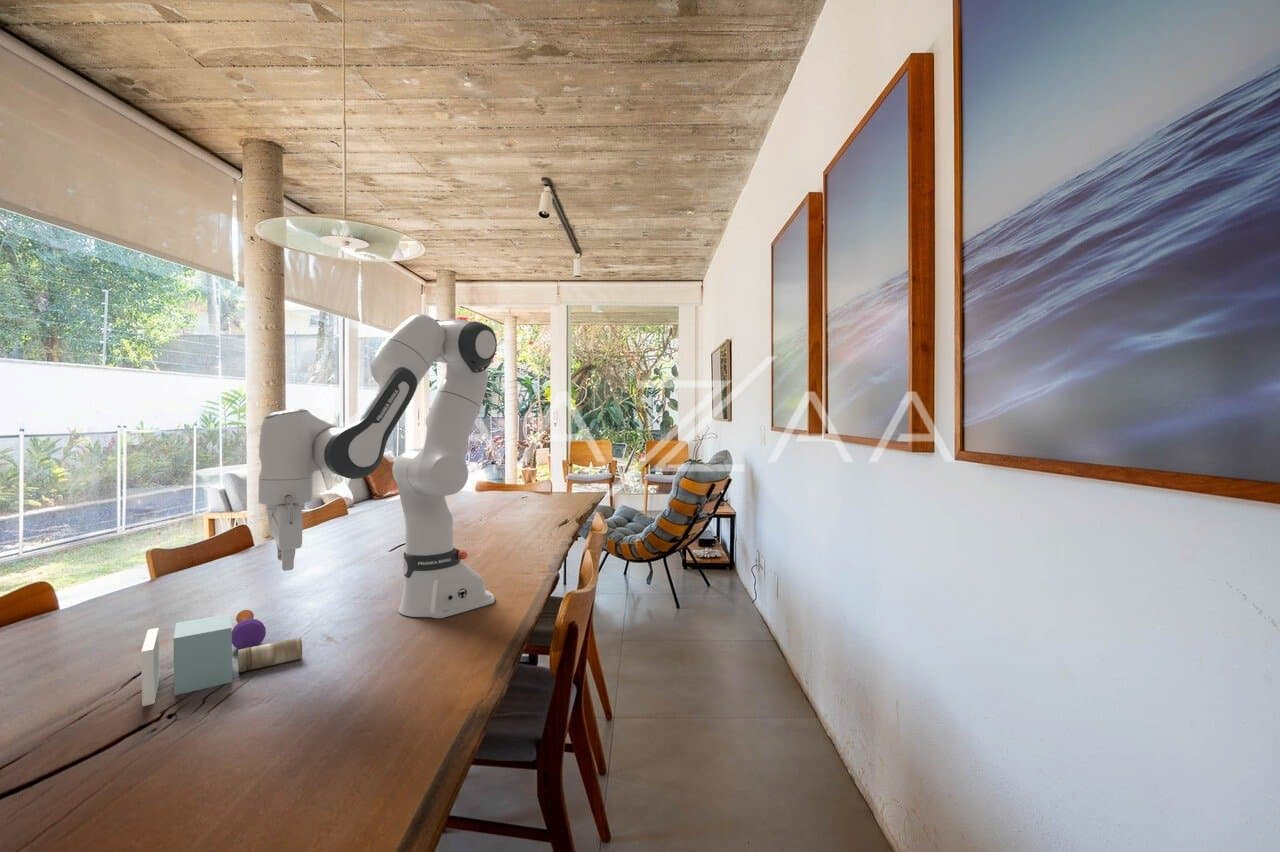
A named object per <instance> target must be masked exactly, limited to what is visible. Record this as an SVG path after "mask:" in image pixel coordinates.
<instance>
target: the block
mask: <svg viewBox="0 0 1280 852" xmlns="http://www.w3.org/2000/svg"><path fill="white" fill-rule="evenodd" d="M231 616H232V615H231V613H225V614H220V615H215V616H209V617H203V618H196V619H191V620H186V621H179V622H176V623H175V627H174V633H173V638H172V639H173V677H174V678H173V682H174V683H173V685H174V686H173V687H174V688H173V691H174V695H173V696H178V695H183V694H188V693H191V692H195V691H200V690H204V689H209V688H213V687H217V686H221V685H227V684H231V683H233V644H232V630H233V628H232V617H231Z"/></svg>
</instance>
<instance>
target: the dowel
mask: <svg viewBox="0 0 1280 852" xmlns="http://www.w3.org/2000/svg"><path fill="white" fill-rule="evenodd" d="M302 641H303V640H302V637H295V638H290V639H285V640H281V641H276V642H275V641H274V642H270V643H265V644H259V645H258V646H254V647H248V648H244V649H237V667H238V668H237V669H238V671H237V672H238V673H242V672H249V671H252V670H255V669H261V668H265V667H269V666H274V665H280V664H283V663H287V662H288V663H289V662H293V661H298V660H302V659H303V642H302Z"/></svg>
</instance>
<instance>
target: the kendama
mask: <svg viewBox="0 0 1280 852" xmlns="http://www.w3.org/2000/svg"><path fill="white" fill-rule="evenodd" d="M254 617H255V616H254V613H253V611H251V610H249V609H244V610H241V611H239V612H238V613H237V614H236V617H235V621H236V622H237V624H236V625H235V626H234V627H233V628H232V647H234V648H236V649H237V650H239V649H244V648H248V647H254V646H259V645H261V644H262V642H264V639H265V637H266V635H267V633H266V631H267V630H266V627H265V625H264V622H262V621H261V620H259V619H257V618H256V619H255V618H254Z"/></svg>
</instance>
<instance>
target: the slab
mask: <svg viewBox="0 0 1280 852" xmlns="http://www.w3.org/2000/svg"><path fill="white" fill-rule="evenodd" d="M140 653H141V659H140V661H141V703H142V704H141V705H142V706H141V707H146V706H150V705H154V704H155V701H156V697H157V691H158V687H159V683H160V678H161V675H160V674H161V673H160V672H161V671H160V670H161V669H160V668H161V665H160V627H156V628H149V629H147V632H146V635H145V637H144V641H143V645H142V647H141V652H140Z"/></svg>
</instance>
